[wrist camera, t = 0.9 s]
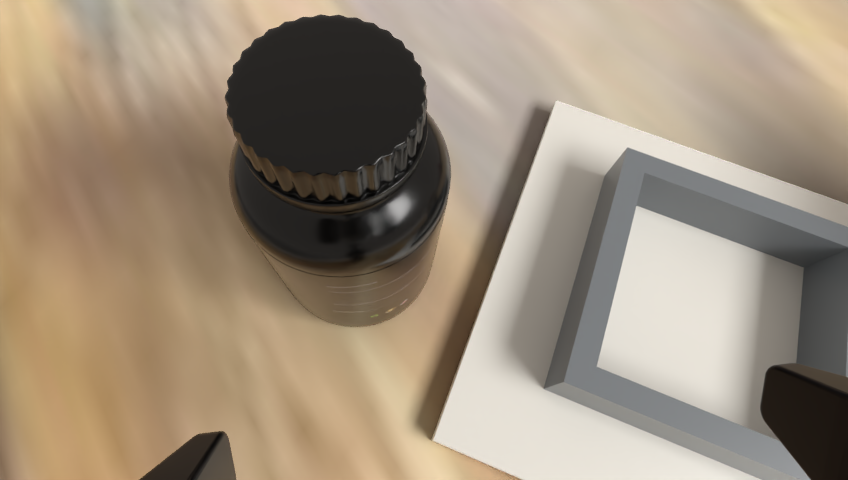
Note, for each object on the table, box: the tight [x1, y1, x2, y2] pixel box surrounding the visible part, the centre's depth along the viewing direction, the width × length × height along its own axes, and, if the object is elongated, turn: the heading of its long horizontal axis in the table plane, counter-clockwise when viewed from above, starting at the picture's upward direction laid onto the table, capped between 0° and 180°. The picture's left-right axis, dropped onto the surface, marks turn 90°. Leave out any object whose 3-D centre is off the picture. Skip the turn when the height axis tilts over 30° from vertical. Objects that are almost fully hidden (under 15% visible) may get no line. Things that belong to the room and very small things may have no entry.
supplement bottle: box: [225, 15, 451, 327], centre depth 17 cm, size 7×7×12 cm
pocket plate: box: [431, 100, 848, 480], centre depth 21 cm, size 18×18×4 cm
